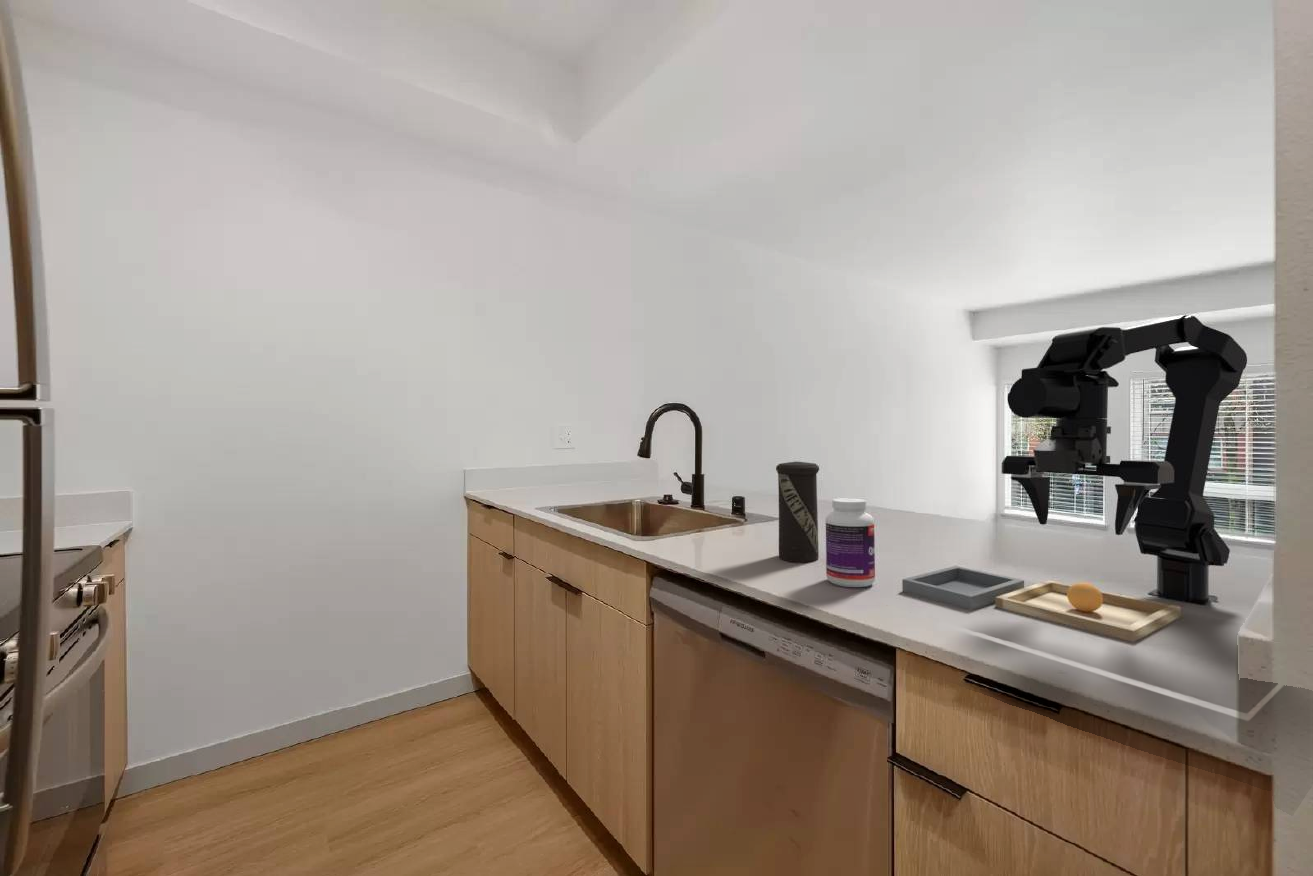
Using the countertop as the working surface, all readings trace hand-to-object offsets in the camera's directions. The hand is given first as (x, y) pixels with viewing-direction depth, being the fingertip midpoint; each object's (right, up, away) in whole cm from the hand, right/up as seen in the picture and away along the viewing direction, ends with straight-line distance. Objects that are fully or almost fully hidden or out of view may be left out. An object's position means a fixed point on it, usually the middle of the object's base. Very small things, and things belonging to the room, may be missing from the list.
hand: (1079, 529), depth 78 cm
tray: (-11, -12, +10) cm, 19 cm away
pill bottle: (-26, -12, +17) cm, 34 cm away
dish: (+1, -12, 0) cm, 12 cm away
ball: (+1, -12, 0) cm, 12 cm away
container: (-30, -12, +36) cm, 49 cm away
